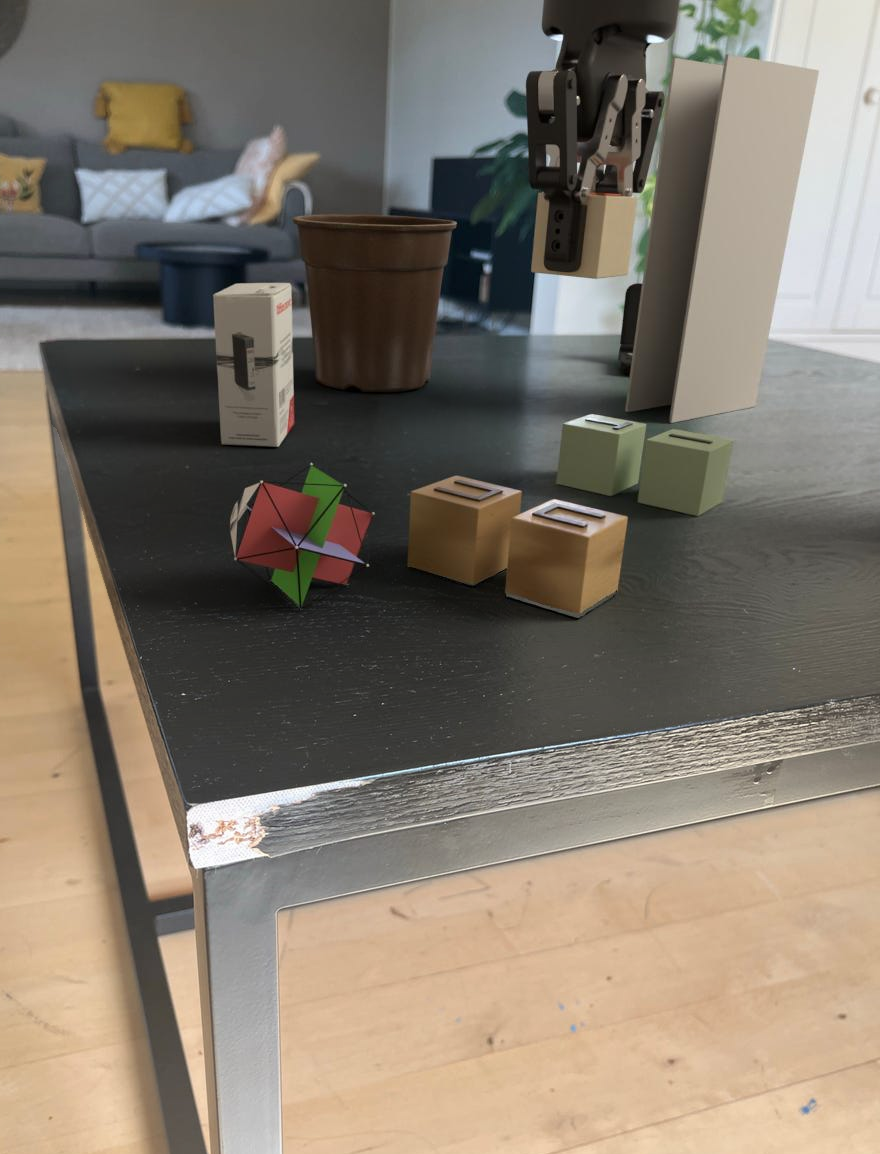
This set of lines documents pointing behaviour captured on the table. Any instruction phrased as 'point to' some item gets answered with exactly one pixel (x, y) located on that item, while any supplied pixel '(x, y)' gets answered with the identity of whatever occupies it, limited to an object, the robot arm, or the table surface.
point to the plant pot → (373, 297)
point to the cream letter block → (594, 236)
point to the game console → (629, 326)
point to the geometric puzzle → (301, 533)
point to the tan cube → (461, 528)
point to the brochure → (718, 233)
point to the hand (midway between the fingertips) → (580, 267)
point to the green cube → (600, 454)
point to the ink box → (254, 363)
